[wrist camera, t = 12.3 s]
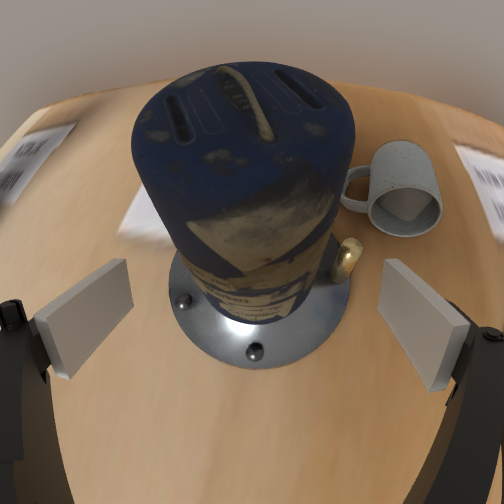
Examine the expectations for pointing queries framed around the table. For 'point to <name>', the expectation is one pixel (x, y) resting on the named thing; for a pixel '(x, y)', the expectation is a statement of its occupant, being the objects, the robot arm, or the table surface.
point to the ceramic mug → (399, 190)
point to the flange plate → (273, 334)
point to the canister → (247, 180)
